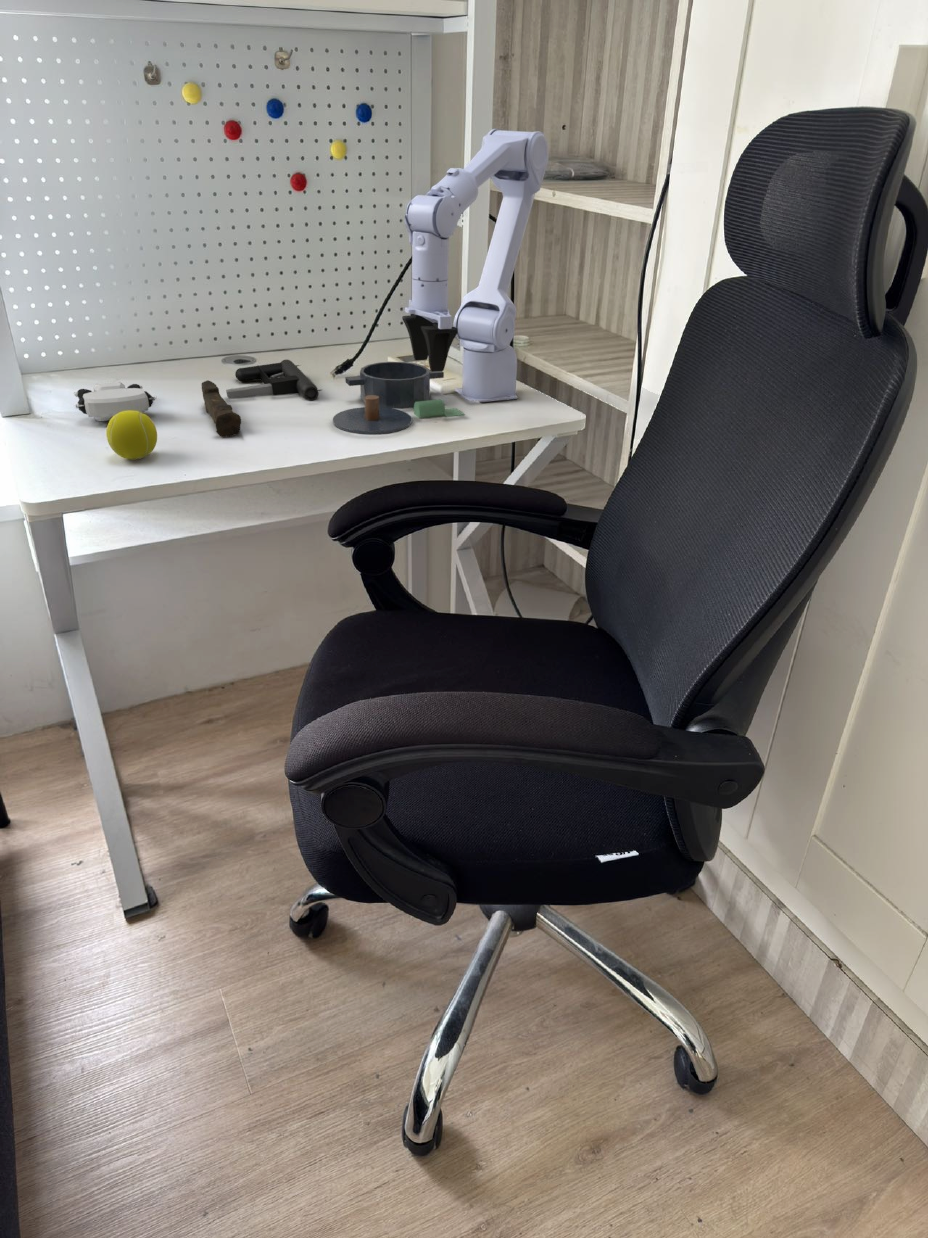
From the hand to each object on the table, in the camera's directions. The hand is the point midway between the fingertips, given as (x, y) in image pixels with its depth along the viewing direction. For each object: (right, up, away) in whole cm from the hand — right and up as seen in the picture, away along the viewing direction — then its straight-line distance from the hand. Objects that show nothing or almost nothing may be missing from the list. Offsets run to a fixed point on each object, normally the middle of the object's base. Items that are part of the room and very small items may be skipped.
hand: (428, 365), depth 151 cm
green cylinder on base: (+1, -8, +5) cm, 9 cm away
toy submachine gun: (-30, -1, +16) cm, 34 cm away
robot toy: (-53, -8, +3) cm, 54 cm away
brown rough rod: (-36, -9, +1) cm, 37 cm away
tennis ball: (-43, -18, -15) cm, 49 cm away
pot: (-6, -3, +12) cm, 14 cm away
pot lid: (-9, -9, 0) cm, 13 cm away
